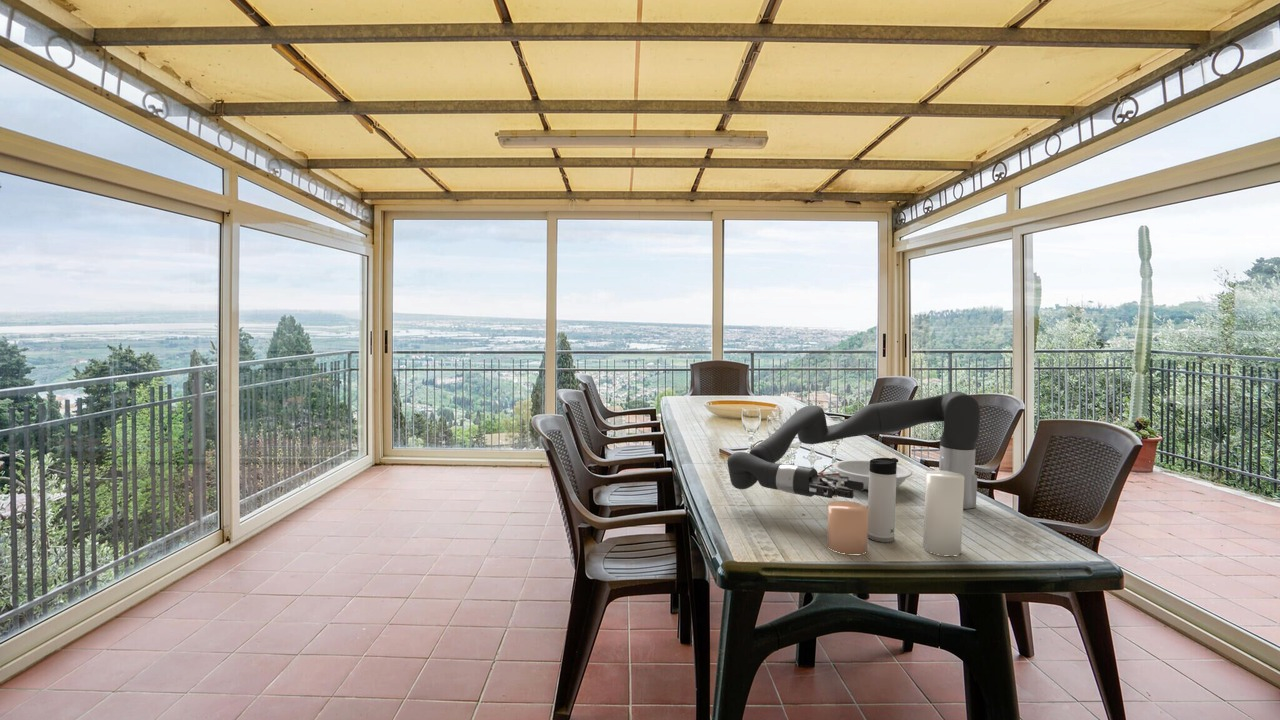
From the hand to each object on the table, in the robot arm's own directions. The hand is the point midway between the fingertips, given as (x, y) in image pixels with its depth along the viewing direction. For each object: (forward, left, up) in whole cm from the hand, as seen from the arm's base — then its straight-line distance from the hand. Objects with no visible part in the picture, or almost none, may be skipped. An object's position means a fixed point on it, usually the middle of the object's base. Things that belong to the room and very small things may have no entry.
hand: (858, 490), depth 148 cm
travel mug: (-5, +3, -11) cm, 13 cm away
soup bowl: (-15, -44, -11) cm, 48 cm away
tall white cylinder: (-17, +9, -11) cm, 22 cm away
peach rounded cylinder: (+5, +11, -11) cm, 16 cm away
